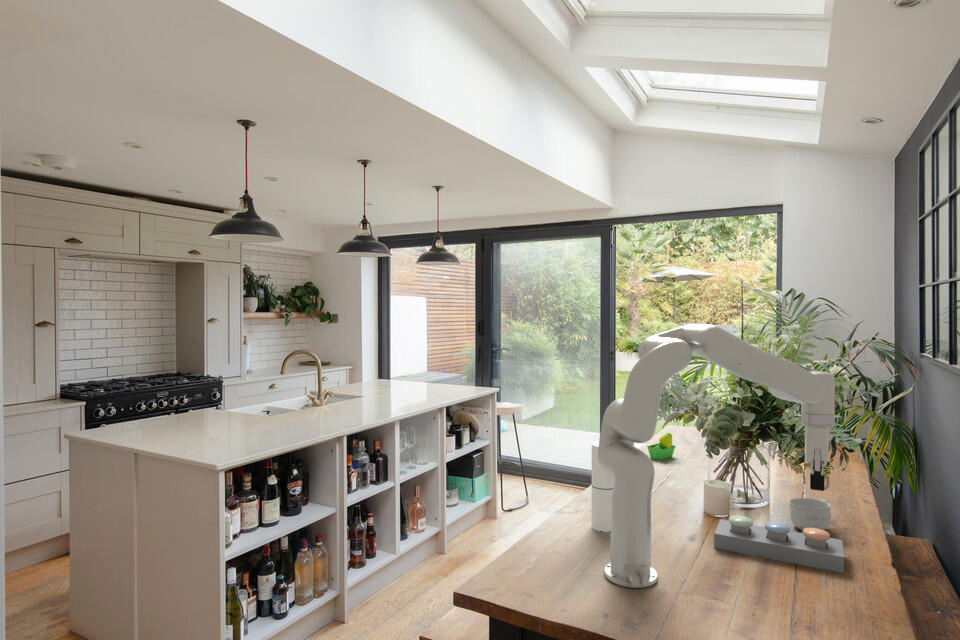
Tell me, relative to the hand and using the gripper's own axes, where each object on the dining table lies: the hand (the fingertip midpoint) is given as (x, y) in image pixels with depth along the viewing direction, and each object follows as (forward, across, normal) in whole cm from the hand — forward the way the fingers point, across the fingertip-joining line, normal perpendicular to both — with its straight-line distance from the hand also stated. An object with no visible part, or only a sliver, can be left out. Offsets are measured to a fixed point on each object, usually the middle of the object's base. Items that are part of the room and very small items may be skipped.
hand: (817, 489), depth 150 cm
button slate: (+15, 0, -9) cm, 18 cm away
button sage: (+15, 0, -18) cm, 24 cm away
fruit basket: (+19, -82, -58) cm, 102 cm away
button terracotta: (+15, 0, 0) cm, 15 cm away
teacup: (+19, -23, -1) cm, 30 cm away
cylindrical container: (+18, +7, -55) cm, 58 cm away
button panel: (+18, 0, -9) cm, 20 cm away
